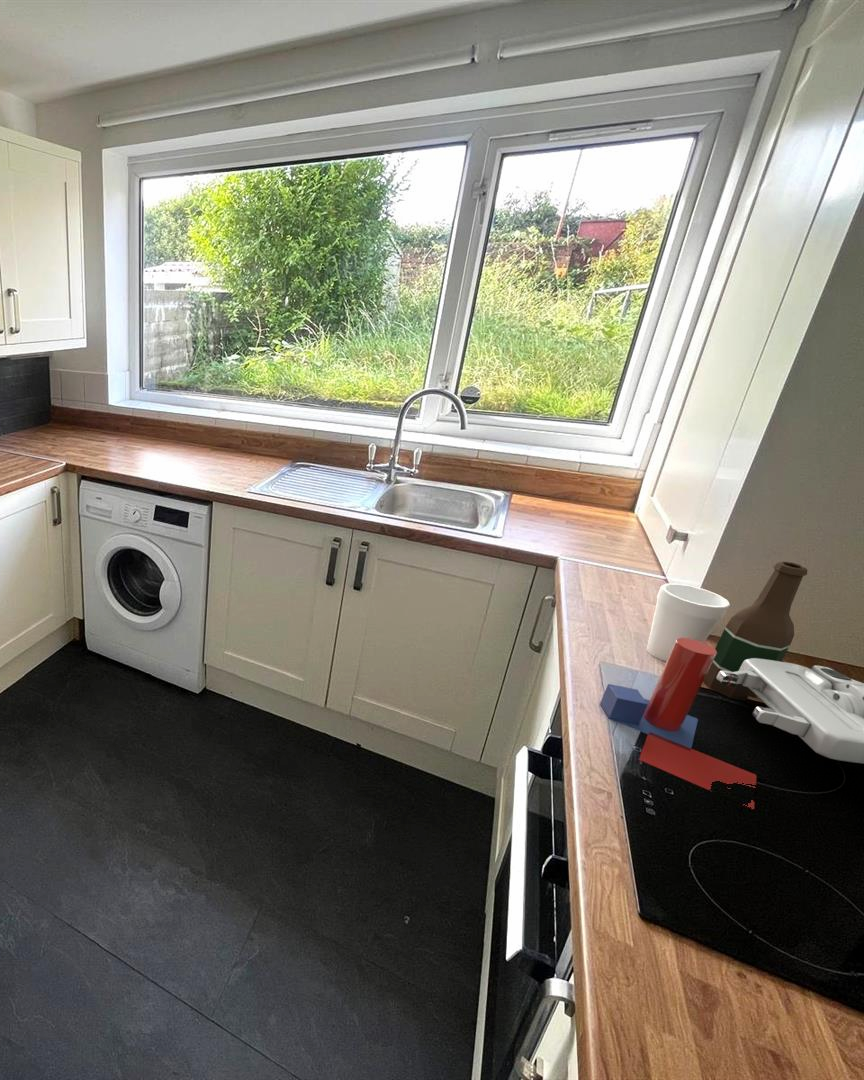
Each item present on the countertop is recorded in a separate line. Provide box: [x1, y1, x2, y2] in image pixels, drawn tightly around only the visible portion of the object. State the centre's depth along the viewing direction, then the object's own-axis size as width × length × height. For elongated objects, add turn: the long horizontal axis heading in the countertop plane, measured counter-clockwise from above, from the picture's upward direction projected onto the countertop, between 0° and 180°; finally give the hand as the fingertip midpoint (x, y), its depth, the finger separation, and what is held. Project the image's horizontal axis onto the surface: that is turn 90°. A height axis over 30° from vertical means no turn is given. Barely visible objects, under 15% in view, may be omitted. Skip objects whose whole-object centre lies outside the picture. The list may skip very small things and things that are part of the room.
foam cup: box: [646, 582, 731, 663], centre depth 108 cm, size 10×9×13 cm
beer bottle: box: [703, 561, 808, 702], centre depth 96 cm, size 8×8×24 cm
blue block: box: [599, 683, 648, 725], centre depth 92 cm, size 4×4×4 cm
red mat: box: [638, 732, 757, 810], centre depth 83 cm, size 12×9×1 cm
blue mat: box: [610, 698, 699, 751], centre depth 92 cm, size 10×11×1 cm
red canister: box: [643, 638, 717, 731], centre depth 89 cm, size 5×5×14 cm
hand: (737, 694), depth 86 cm, fingers open, 8 cm apart
